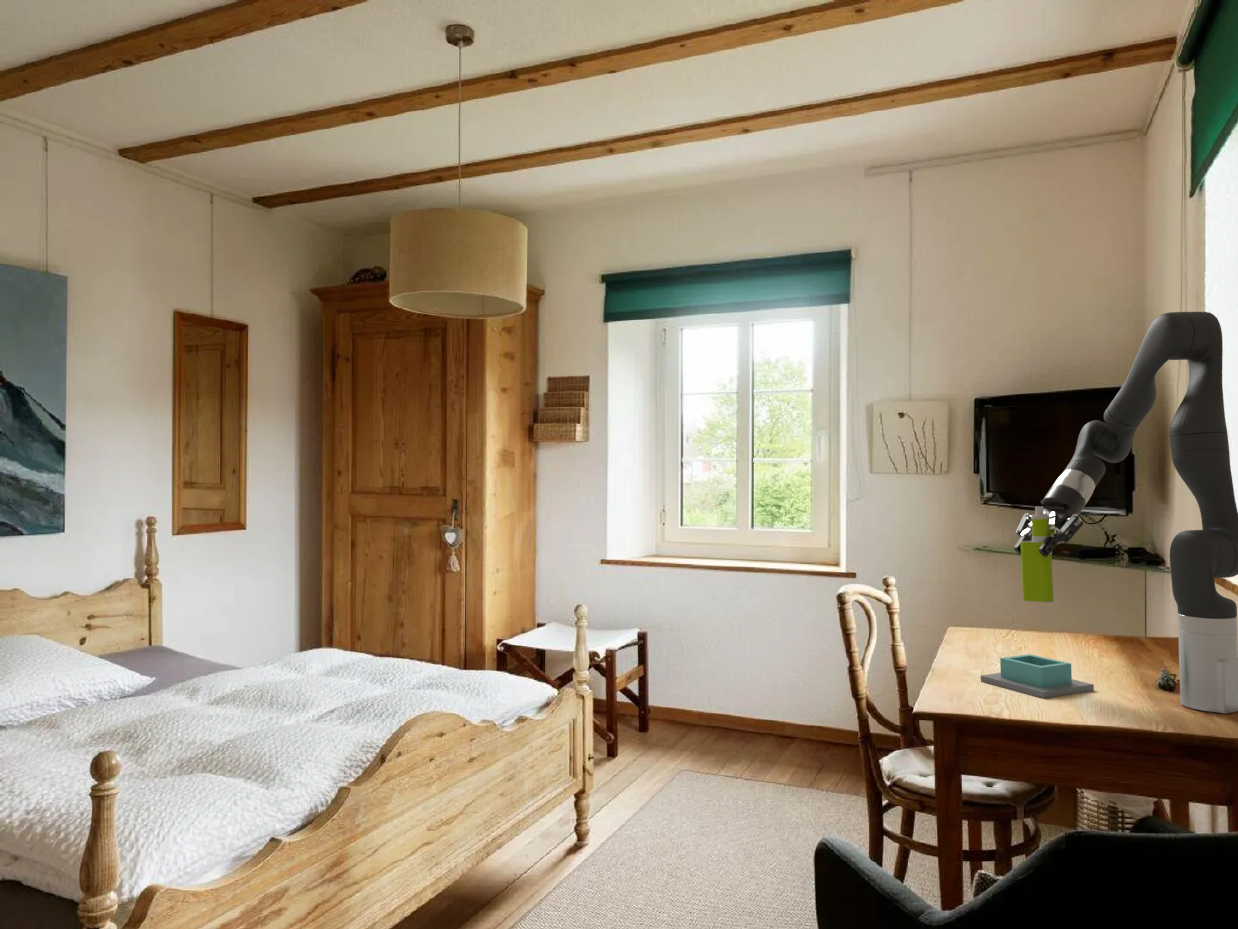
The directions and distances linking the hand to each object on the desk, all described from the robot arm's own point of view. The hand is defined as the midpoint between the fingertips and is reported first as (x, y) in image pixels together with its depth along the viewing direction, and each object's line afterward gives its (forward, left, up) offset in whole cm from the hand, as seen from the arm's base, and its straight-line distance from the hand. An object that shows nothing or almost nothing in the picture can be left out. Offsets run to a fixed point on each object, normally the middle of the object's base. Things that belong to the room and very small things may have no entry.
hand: (1030, 552), depth 180 cm
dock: (-1, 0, -28) cm, 28 cm away
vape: (0, -2, -10) cm, 11 cm away
